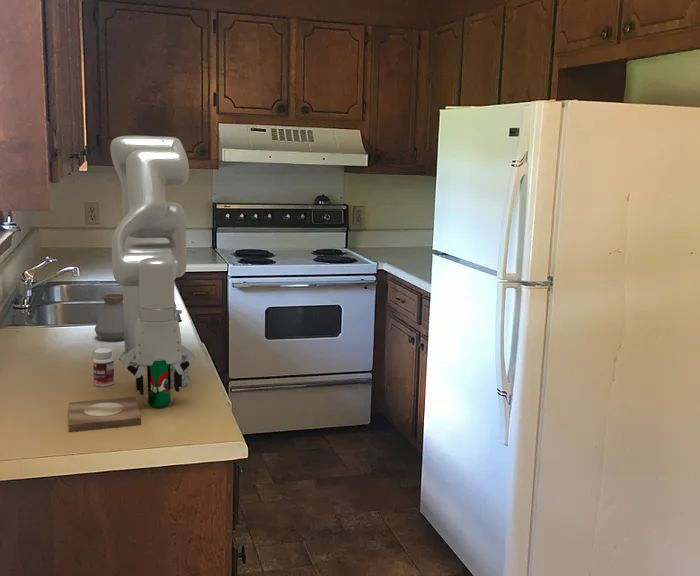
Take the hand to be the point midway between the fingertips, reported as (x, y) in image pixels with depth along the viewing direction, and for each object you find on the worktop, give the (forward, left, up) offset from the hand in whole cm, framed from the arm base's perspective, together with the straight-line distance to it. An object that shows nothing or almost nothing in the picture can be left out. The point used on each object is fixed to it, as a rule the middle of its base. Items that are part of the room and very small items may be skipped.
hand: (159, 391), depth 166 cm
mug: (-15, +4, -4) cm, 16 cm away
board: (+4, -12, -3) cm, 13 cm away
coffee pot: (-63, -1, -3) cm, 63 cm away
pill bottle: (-19, -11, -3) cm, 22 cm away
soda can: (0, 0, -3) cm, 3 cm away
